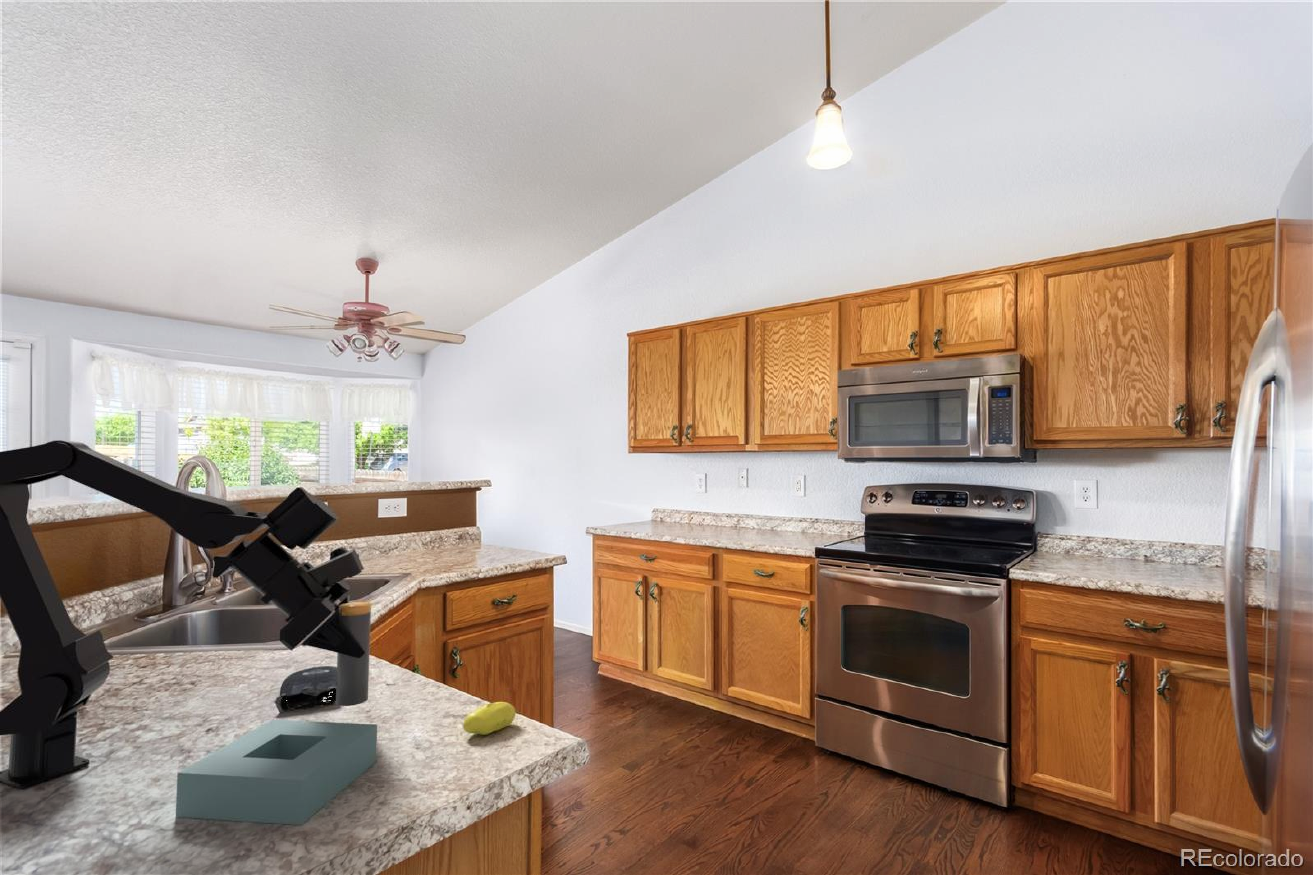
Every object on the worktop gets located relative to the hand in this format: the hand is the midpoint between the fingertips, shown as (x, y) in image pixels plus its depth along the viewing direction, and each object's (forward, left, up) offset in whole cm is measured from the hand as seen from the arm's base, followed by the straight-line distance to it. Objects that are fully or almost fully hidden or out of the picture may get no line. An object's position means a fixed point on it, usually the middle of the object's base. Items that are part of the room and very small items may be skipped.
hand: (364, 650), depth 87 cm
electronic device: (-20, +8, -12) cm, 24 cm away
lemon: (+16, +7, -11) cm, 21 cm away
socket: (+4, -14, -11) cm, 19 cm away
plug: (-1, -1, -7) cm, 7 cm away
